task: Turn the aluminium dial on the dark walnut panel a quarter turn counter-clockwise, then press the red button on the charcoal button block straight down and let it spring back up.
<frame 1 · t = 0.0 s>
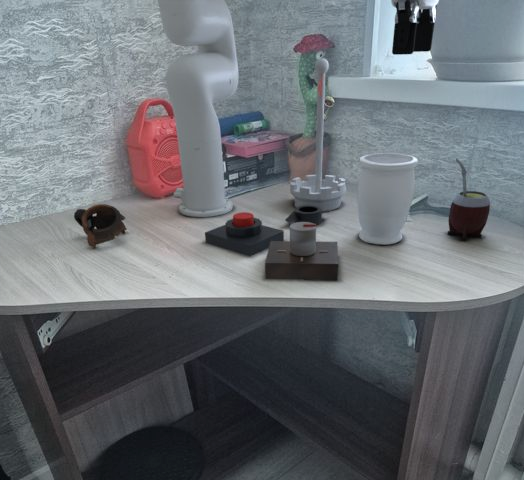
hand: (412, 52, 77), 31 cm above the table, tool pointing down, fingers open, 9 cm apart
button block: (244, 242, 96), on the table
button: (243, 219, 93), point 5 cm above the table, slide at 0.2 cm
dark grey piece: (307, 223, 104), on the table
jar: (380, 238, 95), on the table
dial: (302, 238, 81), point 5 cm above the table, hinge at 0.0°
dial panel: (302, 267, 84), on the table
mate gourd: (462, 237, 95), on the table
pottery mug: (103, 241, 99), on the table
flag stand: (317, 205, 115), on the table
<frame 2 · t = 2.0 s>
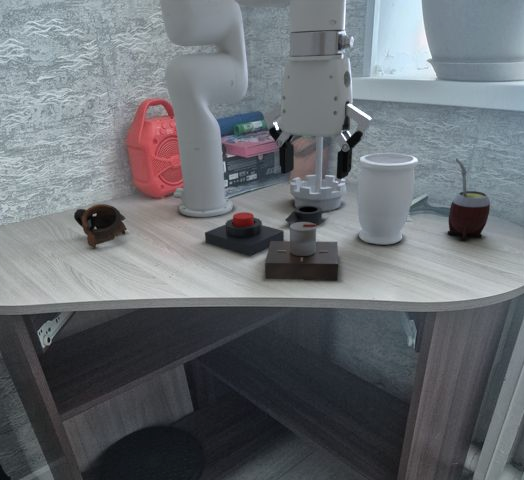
hand: (314, 174, 76), 16 cm above the table, tool pointing down, fingers open, 9 cm apart
nothing on the table moved.
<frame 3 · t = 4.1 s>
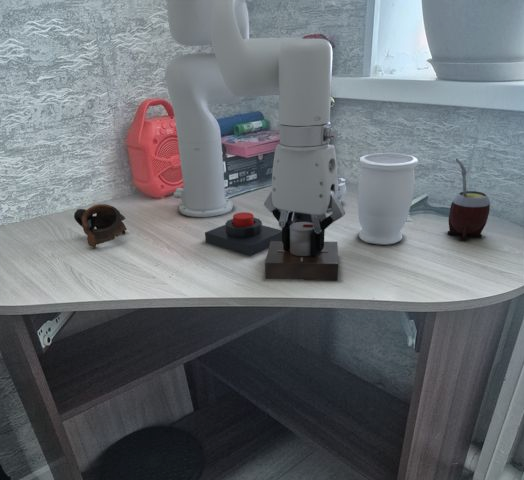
hand: (302, 249, 82), 3 cm above the table, tool pointing down, fingers closed on dial, 4 cm apart
dial: (302, 238, 81), point 5 cm above the table, hinge at 0.1°, touching gripper
everything else where it was.
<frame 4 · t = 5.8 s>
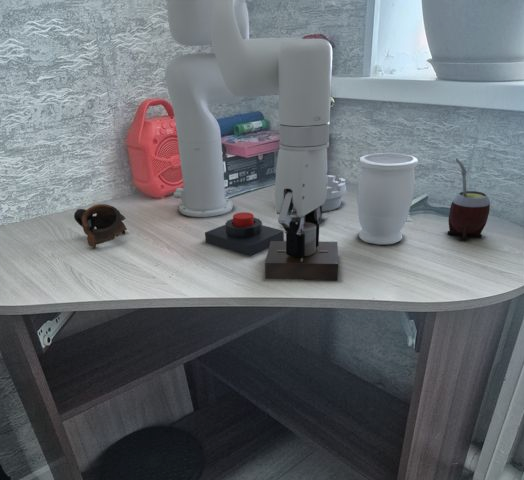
hand: (302, 249, 82), 3 cm above the table, tool pointing down, fingers closed on dial, 4 cm apart
dial: (302, 238, 81), point 5 cm above the table, hinge at 90.1°, touching gripper
everything else where it was.
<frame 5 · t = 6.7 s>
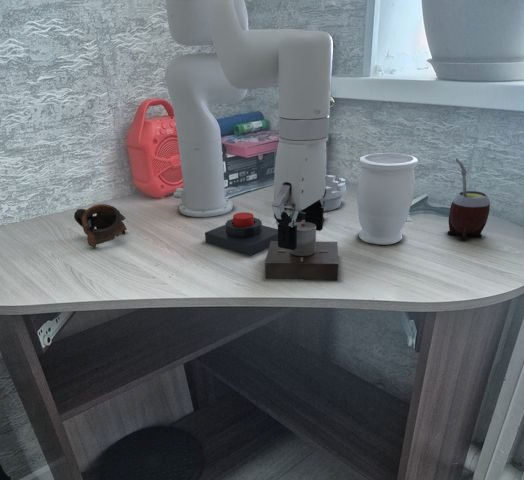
hand: (301, 238, 82), 5 cm above the table, tool pointing down, fingers open, 9 cm apart
dial: (302, 238, 81), point 5 cm above the table, hinge at 89.9°
everything else where it was.
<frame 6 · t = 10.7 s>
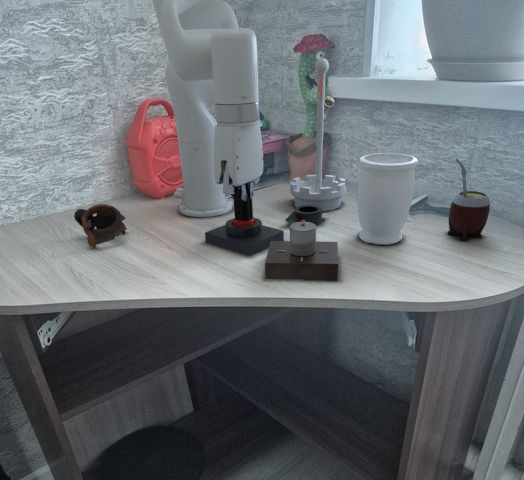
hand: (243, 219, 93), 5 cm above the table, tool pointing down, fingers closed
button: (243, 223, 94), point 4 cm above the table, slide at -0.5 cm, touching gripper
everything else where it was.
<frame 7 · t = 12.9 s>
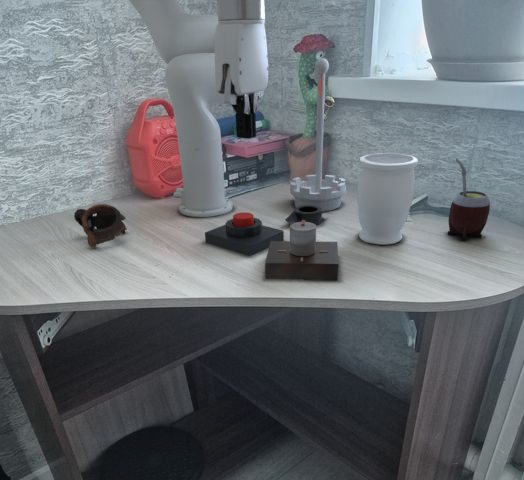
hand: (246, 137, 87), 19 cm above the table, tool pointing down, fingers closed
button: (243, 219, 93), point 5 cm above the table, slide at 0.1 cm
everything else where it was.
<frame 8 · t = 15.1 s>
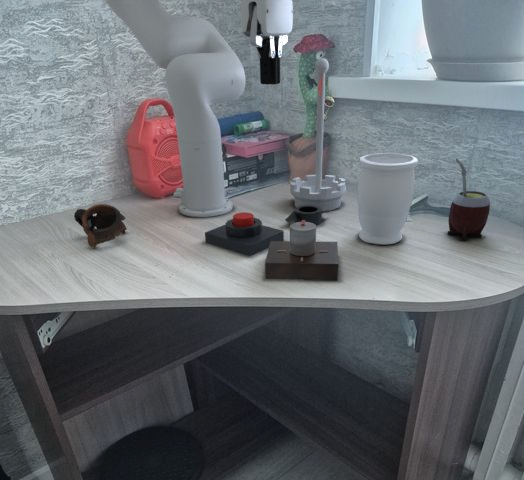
hand: (270, 83, 86), 27 cm above the table, tool pointing down, fingers closed
nothing on the table moved.
at the end: dial at +90° (first picture: +0°); button pushed in 1.1 cm at the most during the clip, back to where it started at the end; button slide at 0.1 cm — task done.
